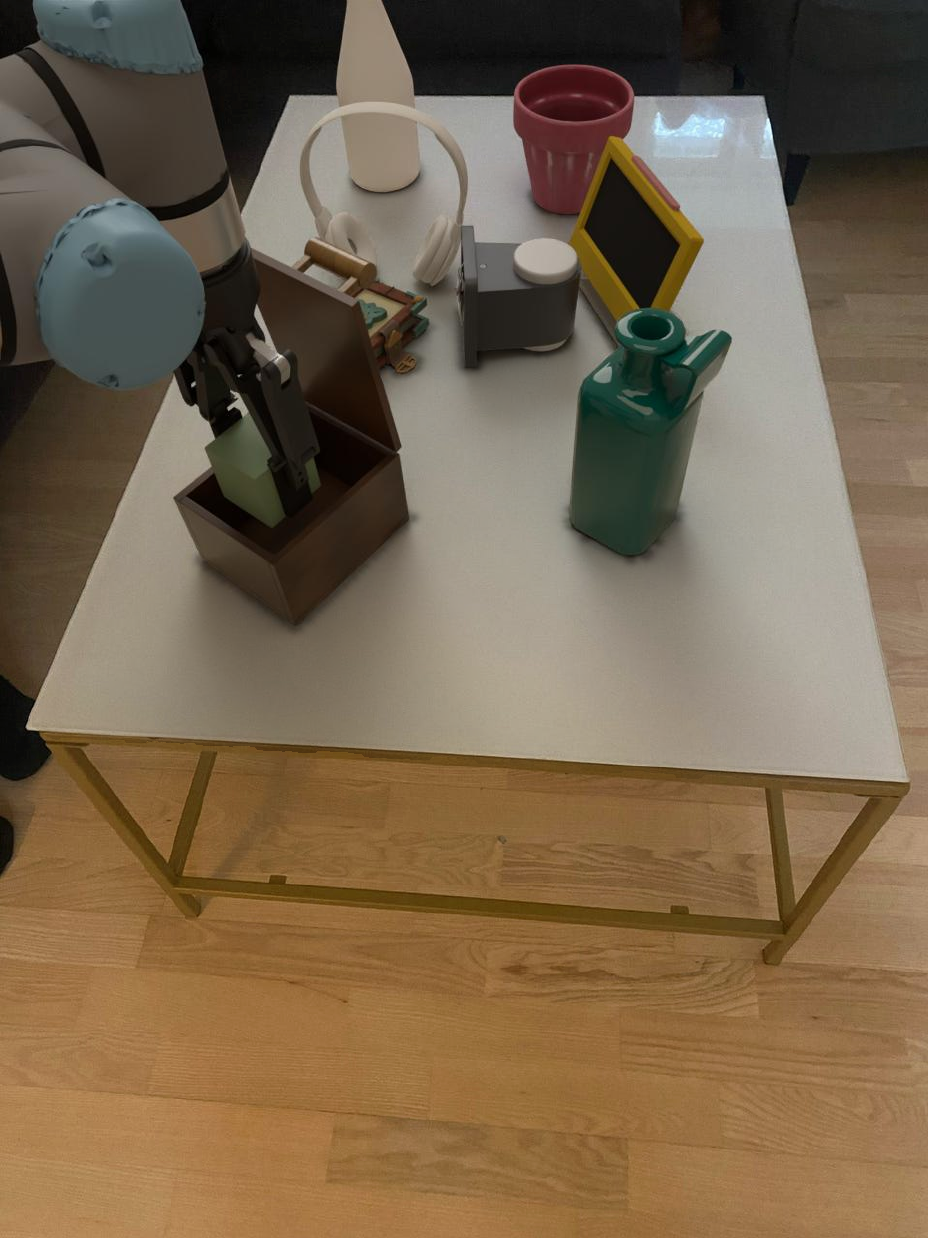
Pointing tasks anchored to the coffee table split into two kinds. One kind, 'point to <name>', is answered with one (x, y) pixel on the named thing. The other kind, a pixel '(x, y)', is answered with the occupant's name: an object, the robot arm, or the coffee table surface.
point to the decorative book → (391, 321)
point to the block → (250, 471)
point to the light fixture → (516, 294)
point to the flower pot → (569, 129)
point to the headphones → (351, 231)
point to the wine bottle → (376, 100)
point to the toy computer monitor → (631, 238)
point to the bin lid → (328, 336)
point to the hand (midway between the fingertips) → (271, 489)
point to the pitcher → (640, 428)
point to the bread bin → (304, 523)
